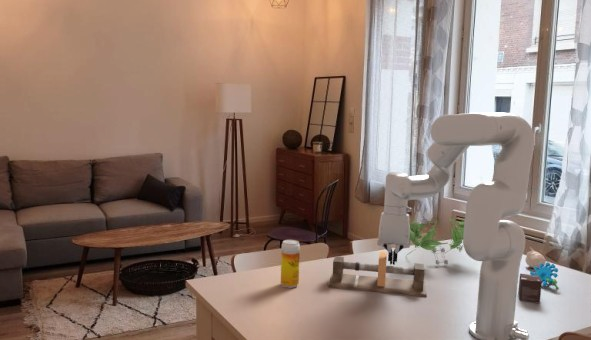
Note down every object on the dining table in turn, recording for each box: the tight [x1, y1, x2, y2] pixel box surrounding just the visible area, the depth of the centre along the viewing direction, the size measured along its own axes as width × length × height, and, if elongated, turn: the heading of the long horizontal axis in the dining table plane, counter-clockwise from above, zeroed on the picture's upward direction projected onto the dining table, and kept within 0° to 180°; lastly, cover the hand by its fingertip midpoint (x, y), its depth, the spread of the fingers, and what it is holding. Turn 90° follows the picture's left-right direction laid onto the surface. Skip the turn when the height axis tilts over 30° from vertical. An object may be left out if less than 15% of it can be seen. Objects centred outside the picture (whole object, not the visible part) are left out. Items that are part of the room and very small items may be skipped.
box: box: [517, 273, 543, 304], centre depth 162 cm, size 6×6×7 cm
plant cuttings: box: [405, 218, 465, 267], centre depth 197 cm, size 35×17×22 cm
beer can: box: [280, 239, 301, 289], centre depth 167 cm, size 6×6×15 cm
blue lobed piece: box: [529, 262, 559, 290], centre depth 176 cm, size 11×6×10 cm
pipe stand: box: [327, 255, 428, 298], centre depth 170 cm, size 32×12×8 cm, turn 79°
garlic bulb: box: [525, 246, 547, 270], centre depth 193 cm, size 7×6×8 cm
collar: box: [377, 251, 388, 287], centre depth 169 cm, size 2×9×9 cm, turn 169°
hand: (392, 263), depth 168 cm, fingers closed
